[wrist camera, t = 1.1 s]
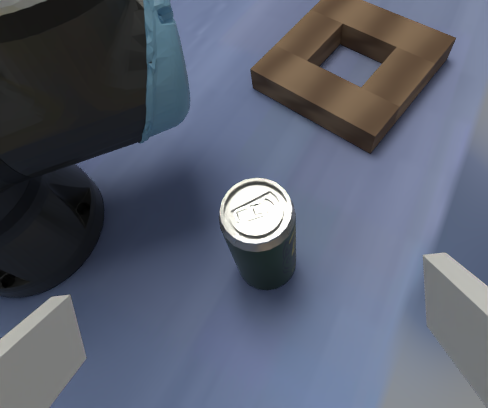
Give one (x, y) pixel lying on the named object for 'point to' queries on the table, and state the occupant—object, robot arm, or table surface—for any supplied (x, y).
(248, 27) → the table surface
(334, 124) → the socket block
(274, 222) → the beer can
